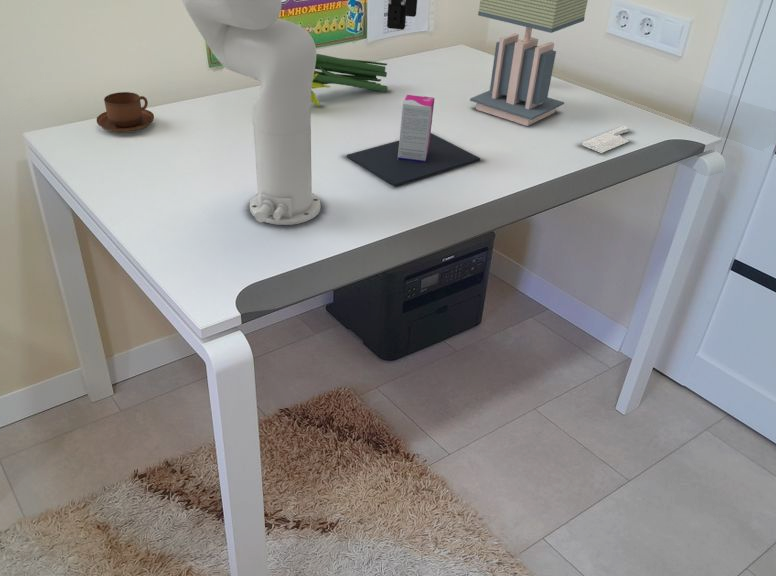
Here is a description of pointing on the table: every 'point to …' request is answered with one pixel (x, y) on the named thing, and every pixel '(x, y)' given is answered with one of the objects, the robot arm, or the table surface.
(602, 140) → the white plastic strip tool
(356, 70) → the daffodil flowers
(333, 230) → the table surface
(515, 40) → the desk lamp
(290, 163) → the robot arm
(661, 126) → the table surface
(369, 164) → the desk pad
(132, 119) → the cup and saucer
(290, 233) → the table surface
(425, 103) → the supplement box
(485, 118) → the table surface
